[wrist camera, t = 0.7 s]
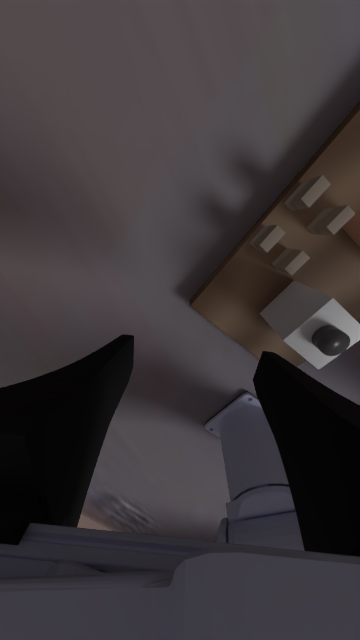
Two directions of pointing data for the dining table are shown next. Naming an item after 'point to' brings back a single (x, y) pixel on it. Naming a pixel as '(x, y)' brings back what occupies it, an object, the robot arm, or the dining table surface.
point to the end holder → (353, 228)
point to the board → (293, 248)
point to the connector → (312, 323)
